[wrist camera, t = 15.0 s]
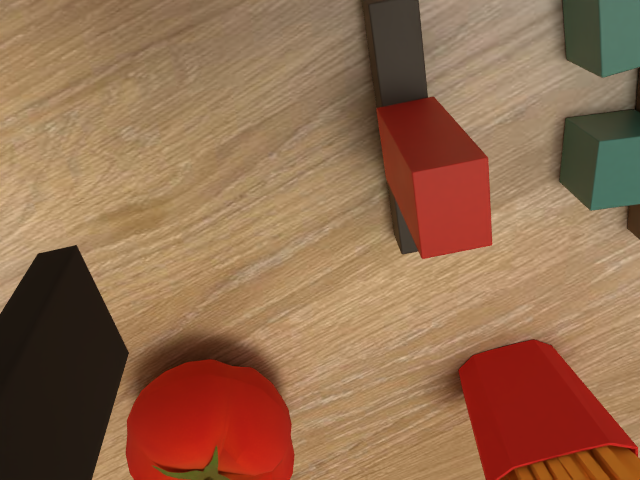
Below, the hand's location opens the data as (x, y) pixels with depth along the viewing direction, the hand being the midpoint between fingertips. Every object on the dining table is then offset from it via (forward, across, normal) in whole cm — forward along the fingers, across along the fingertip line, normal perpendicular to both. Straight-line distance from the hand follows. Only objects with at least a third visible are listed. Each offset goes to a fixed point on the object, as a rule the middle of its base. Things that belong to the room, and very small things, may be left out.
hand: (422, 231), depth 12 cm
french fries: (+22, +8, -26) cm, 35 cm away
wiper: (+22, +3, -6) cm, 23 cm away
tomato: (+22, -12, -23) cm, 34 cm away
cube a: (+22, +14, -3) cm, 26 cm away
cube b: (+22, +14, -10) cm, 28 cm away
